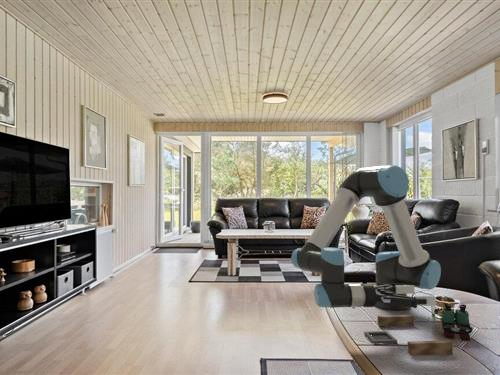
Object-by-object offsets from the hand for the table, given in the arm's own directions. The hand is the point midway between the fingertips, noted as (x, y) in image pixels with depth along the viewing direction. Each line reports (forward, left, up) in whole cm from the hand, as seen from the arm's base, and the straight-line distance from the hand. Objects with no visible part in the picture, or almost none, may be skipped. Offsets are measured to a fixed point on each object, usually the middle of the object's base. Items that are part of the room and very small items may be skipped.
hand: (424, 294), depth 121 cm
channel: (-2, -4, -14) cm, 15 cm away
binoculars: (+5, +10, -15) cm, 18 cm away
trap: (-8, -13, -14) cm, 21 cm away
